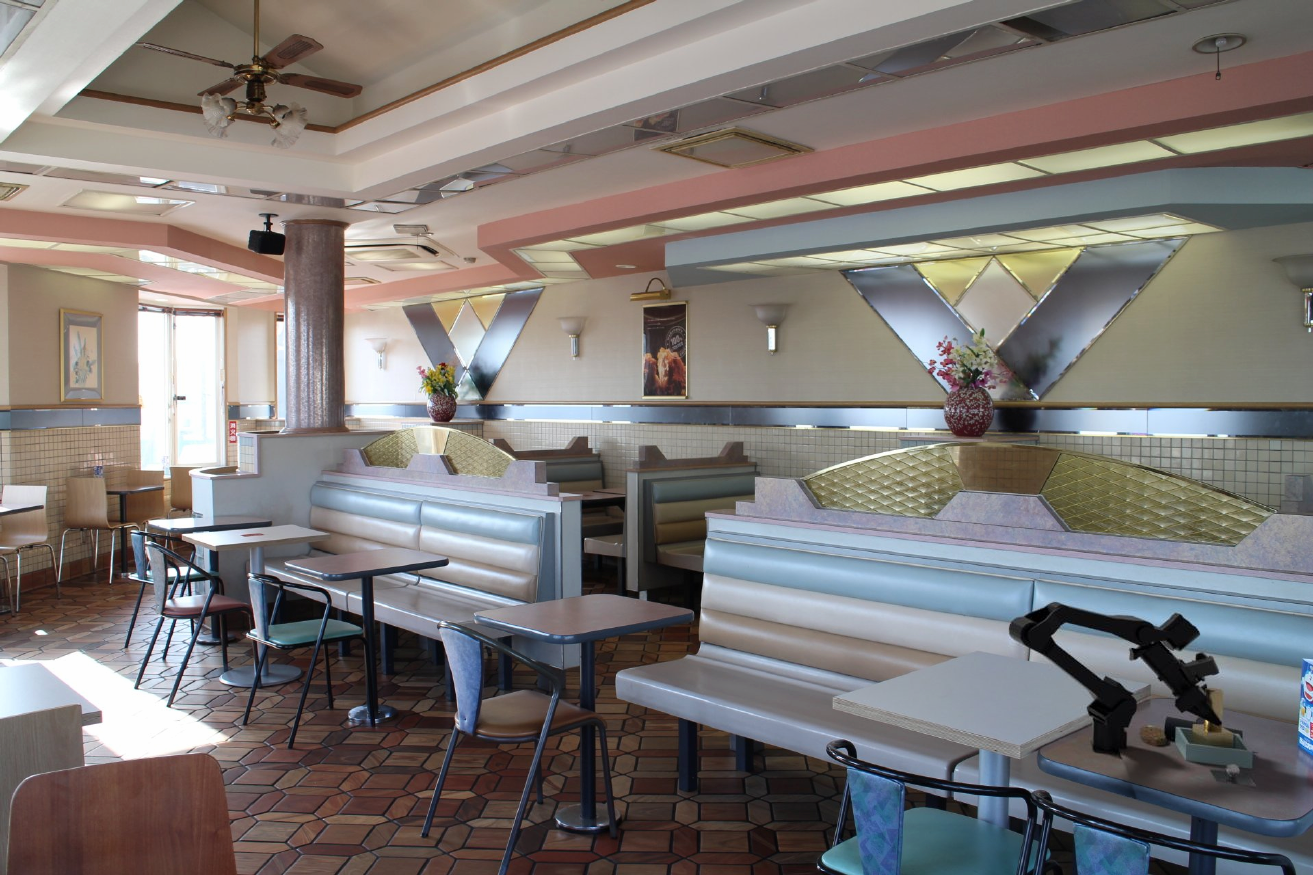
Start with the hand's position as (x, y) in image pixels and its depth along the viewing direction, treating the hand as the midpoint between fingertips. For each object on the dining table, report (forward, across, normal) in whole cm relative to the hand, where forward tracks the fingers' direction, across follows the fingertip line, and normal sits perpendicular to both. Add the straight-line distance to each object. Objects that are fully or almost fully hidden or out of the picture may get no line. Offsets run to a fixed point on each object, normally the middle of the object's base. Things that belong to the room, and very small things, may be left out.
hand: (1220, 722), depth 206 cm
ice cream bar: (-3, +7, +16) cm, 17 cm away
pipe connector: (+4, +14, +8) cm, 17 cm away
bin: (+5, 0, +7) cm, 8 cm away
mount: (+7, -14, +4) cm, 16 cm away
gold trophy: (+3, 0, +5) cm, 6 cm away
